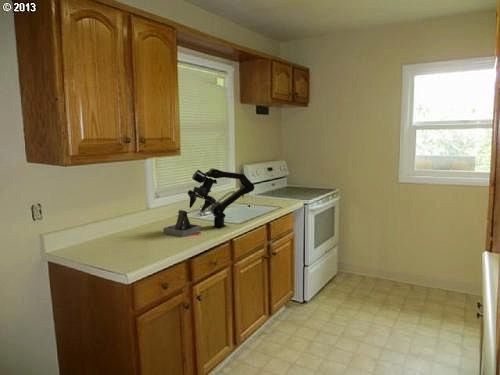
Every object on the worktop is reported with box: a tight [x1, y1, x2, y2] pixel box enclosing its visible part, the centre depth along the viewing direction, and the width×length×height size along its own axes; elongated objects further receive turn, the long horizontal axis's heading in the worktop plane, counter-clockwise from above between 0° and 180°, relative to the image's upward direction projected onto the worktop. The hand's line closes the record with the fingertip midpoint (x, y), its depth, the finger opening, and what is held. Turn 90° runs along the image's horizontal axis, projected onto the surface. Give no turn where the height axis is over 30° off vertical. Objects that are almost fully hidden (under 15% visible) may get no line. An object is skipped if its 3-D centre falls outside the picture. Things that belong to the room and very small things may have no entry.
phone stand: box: [175, 209, 192, 231], centre depth 222 cm, size 9×6×12 cm, turn 125°
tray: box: [162, 222, 202, 237], centre depth 223 cm, size 16×16×3 cm
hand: (195, 209), depth 223 cm, fingers open, 9 cm apart
